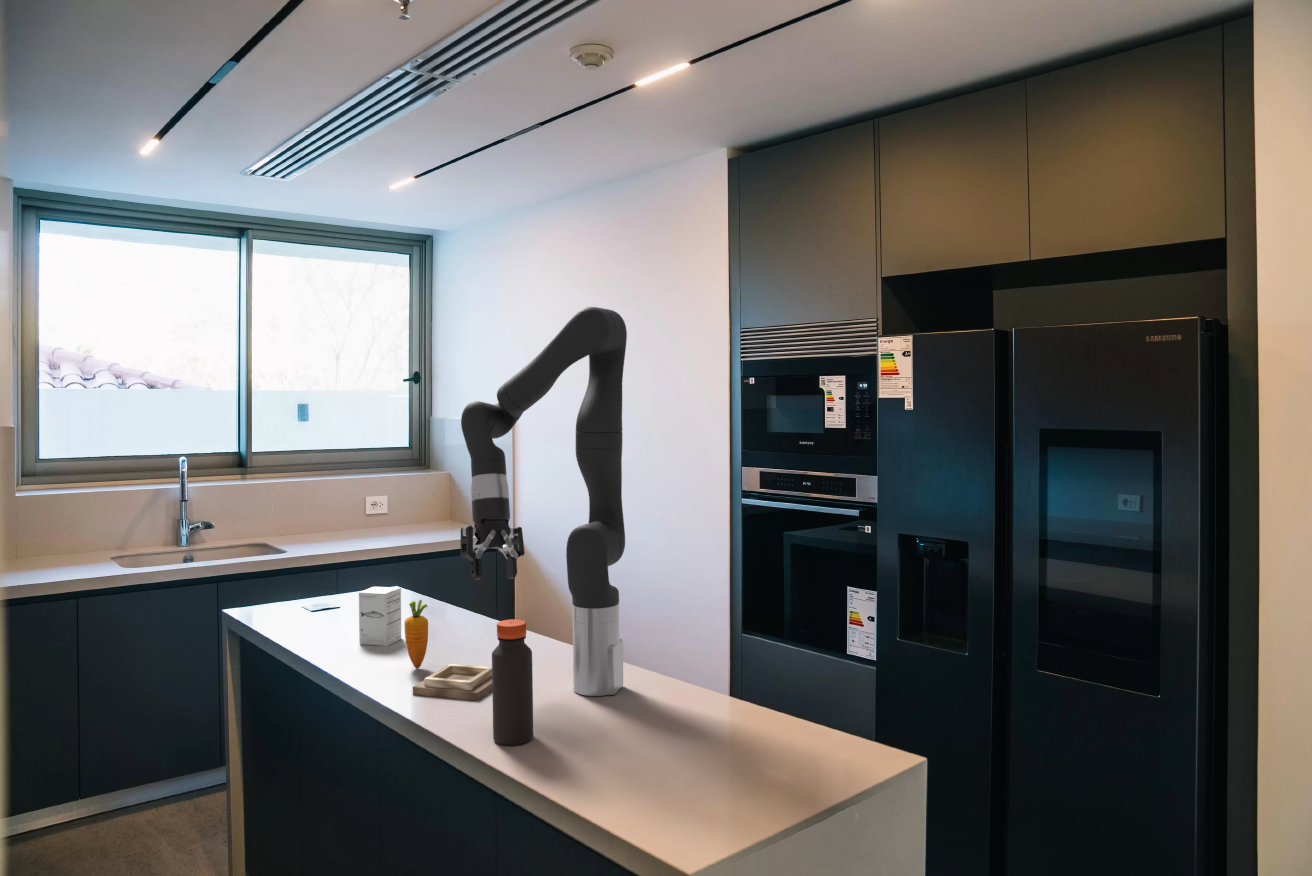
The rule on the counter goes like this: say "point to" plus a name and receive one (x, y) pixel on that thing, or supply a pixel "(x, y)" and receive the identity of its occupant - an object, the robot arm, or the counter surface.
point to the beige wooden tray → (457, 682)
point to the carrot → (416, 634)
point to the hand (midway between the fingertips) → (494, 578)
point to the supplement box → (380, 616)
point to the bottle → (512, 685)
